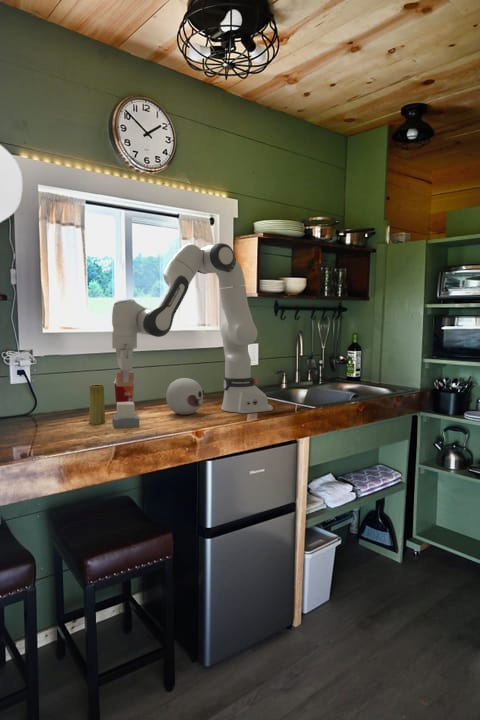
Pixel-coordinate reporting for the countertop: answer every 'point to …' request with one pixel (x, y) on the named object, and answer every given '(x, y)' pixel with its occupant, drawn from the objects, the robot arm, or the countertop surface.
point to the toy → (184, 396)
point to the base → (125, 421)
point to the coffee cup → (123, 393)
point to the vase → (97, 404)
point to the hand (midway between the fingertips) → (124, 380)
